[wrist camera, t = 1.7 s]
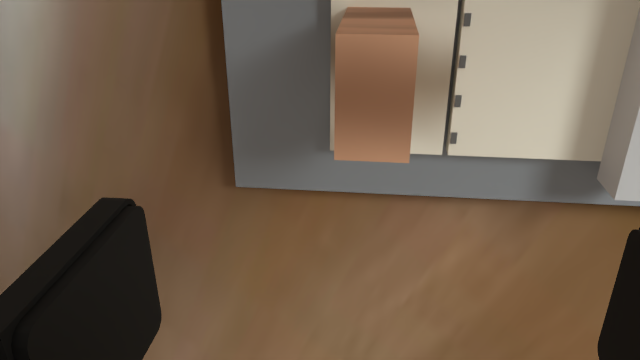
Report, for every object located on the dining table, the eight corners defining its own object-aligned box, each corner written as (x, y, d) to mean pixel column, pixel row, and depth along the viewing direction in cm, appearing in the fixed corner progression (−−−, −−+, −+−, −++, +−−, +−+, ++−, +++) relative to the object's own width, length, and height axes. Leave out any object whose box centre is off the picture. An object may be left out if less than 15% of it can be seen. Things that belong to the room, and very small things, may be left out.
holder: (220, -119, 26) (187, -128, 22) (794, -125, 23) (888, -136, 19) (241, 176, 33) (219, 214, 29) (686, 196, 30) (737, 242, 26)
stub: (333, -51, 25) (313, -41, 18) (461, -51, 25) (492, -41, 18) (331, 144, 30) (314, 213, 23) (440, 149, 29) (458, 220, 22)
